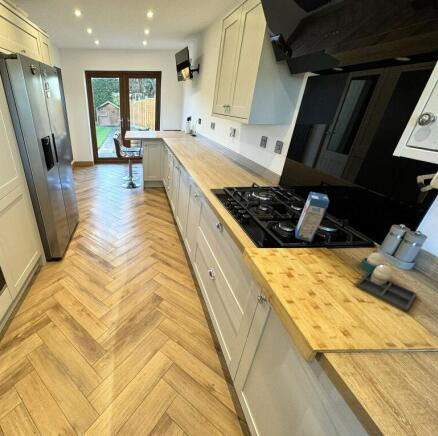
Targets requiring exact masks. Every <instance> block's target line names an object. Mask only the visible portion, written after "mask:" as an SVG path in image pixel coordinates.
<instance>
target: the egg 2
mask: <svg viewBox="0 0 438 436" xmlns="http://www.w3.org/2000/svg"><path fill="white" fill-rule="evenodd" d="M392 276H393V269H392V268H391V267H390V266H388V265H385V264H383V265H379V266H377V267H376V268H375V270H374V271H373V273H372V275H371V281H372V282H375V283H377V284H379V285H383V284H384V283H386V282H387V281H390V278H391V277H392Z"/></svg>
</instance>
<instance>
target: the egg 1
mask: <svg viewBox="0 0 438 436" xmlns="http://www.w3.org/2000/svg"><path fill="white" fill-rule="evenodd" d="M366 258H367V260H366V262H367V263H369V264H371V265H373V266H376V267H377V266H379V265H382V264H383V263H385V256H384V255H383V254H381V253H379V252H372V253H370V254H369V255H368V257H366Z"/></svg>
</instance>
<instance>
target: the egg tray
mask: <svg viewBox="0 0 438 436" xmlns="http://www.w3.org/2000/svg"><path fill="white" fill-rule="evenodd" d="M371 275H372V273H371V272H367V273H366V274H365V275H364V276H363V277H362V278H361V279H360V280H358V282H357V283H356V284H355V287H356V288H357V289H360V290H361V291H364V292H365V293H368V294H369V295H372V296H374V297H376V298H377V299H379V300H381V301H383V302H385V303H387V304H390V305H391V306H394V307H396V308H397V309H399V310H401V311H403V312H405V313H407V311H408V310H409V308H410V307H411V305H412V304H413V302H414V300H415V298H416V296H417V295H418V293H417V292H415V291H412V290H410V289H408V288H406V287H404V286H401V285H399V284H398V283H395V282H392V281H390V280H388V281H387V282H386V283H384V284H383V285H379V284H377V283H375V282H372V281H371Z"/></svg>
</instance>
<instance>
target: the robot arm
mask: <svg viewBox="0 0 438 436" xmlns="http://www.w3.org/2000/svg"><path fill="white" fill-rule="evenodd" d="M429 179H431V181H430V184H428V185H426V184H425V182H424V180H429ZM416 180H417V186H418V188H419V189H420V193H419V194H418V196H417V198H416V200H418V201H417V203H418V204H421V203H422V202H423V201H425V200H424V199H425V198H426V196H427V195H428V193H429V190H432V189H437V190H438V171H437V172H436V173H430V174H424V175H418V176H417V177H416Z"/></svg>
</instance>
